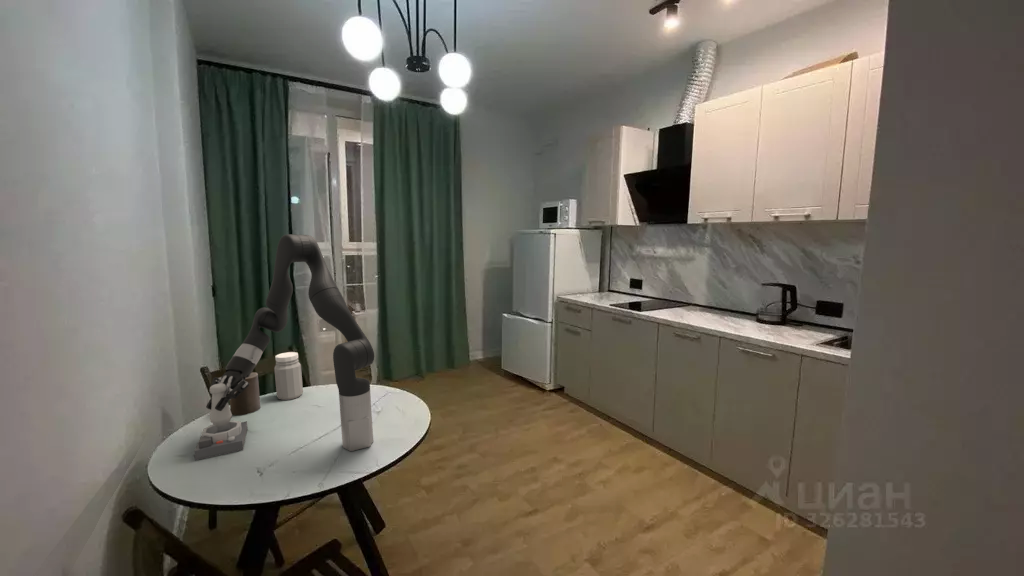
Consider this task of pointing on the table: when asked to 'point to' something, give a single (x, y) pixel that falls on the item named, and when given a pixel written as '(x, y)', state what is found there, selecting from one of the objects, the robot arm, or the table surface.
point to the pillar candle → (247, 398)
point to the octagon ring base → (221, 439)
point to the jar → (288, 376)
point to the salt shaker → (217, 393)
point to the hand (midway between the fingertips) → (213, 409)
